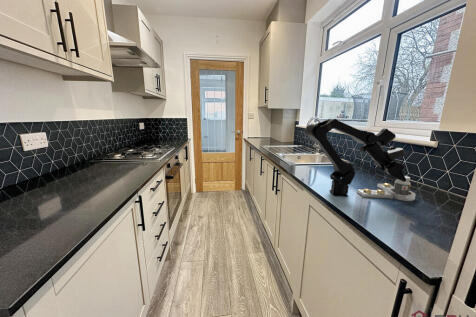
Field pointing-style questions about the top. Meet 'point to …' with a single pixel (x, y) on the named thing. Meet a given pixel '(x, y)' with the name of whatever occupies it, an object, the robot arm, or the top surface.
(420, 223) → the top surface
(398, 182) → the pill bottle
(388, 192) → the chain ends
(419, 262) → the top surface
